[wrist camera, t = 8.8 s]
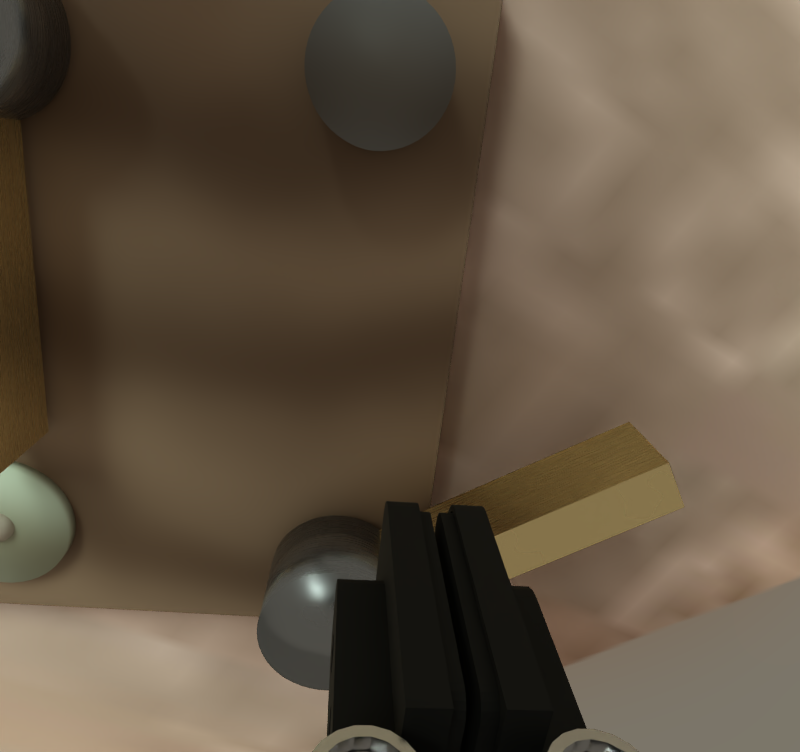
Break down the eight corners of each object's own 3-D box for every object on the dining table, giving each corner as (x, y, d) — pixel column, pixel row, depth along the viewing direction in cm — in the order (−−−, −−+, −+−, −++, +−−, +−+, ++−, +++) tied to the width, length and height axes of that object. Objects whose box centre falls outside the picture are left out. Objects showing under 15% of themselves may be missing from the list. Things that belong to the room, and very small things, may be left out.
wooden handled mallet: (309, 638, 22) (301, 709, 19) (248, 546, 21) (229, 608, 18) (656, 494, 21) (700, 547, 18) (615, 385, 19) (657, 424, 17)
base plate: (-176, -114, 16) (-319, -184, 12) (495, -20, 17) (526, -60, 14) (-60, 570, 23) (-133, 640, 19) (410, 597, 24) (417, 666, 21)
